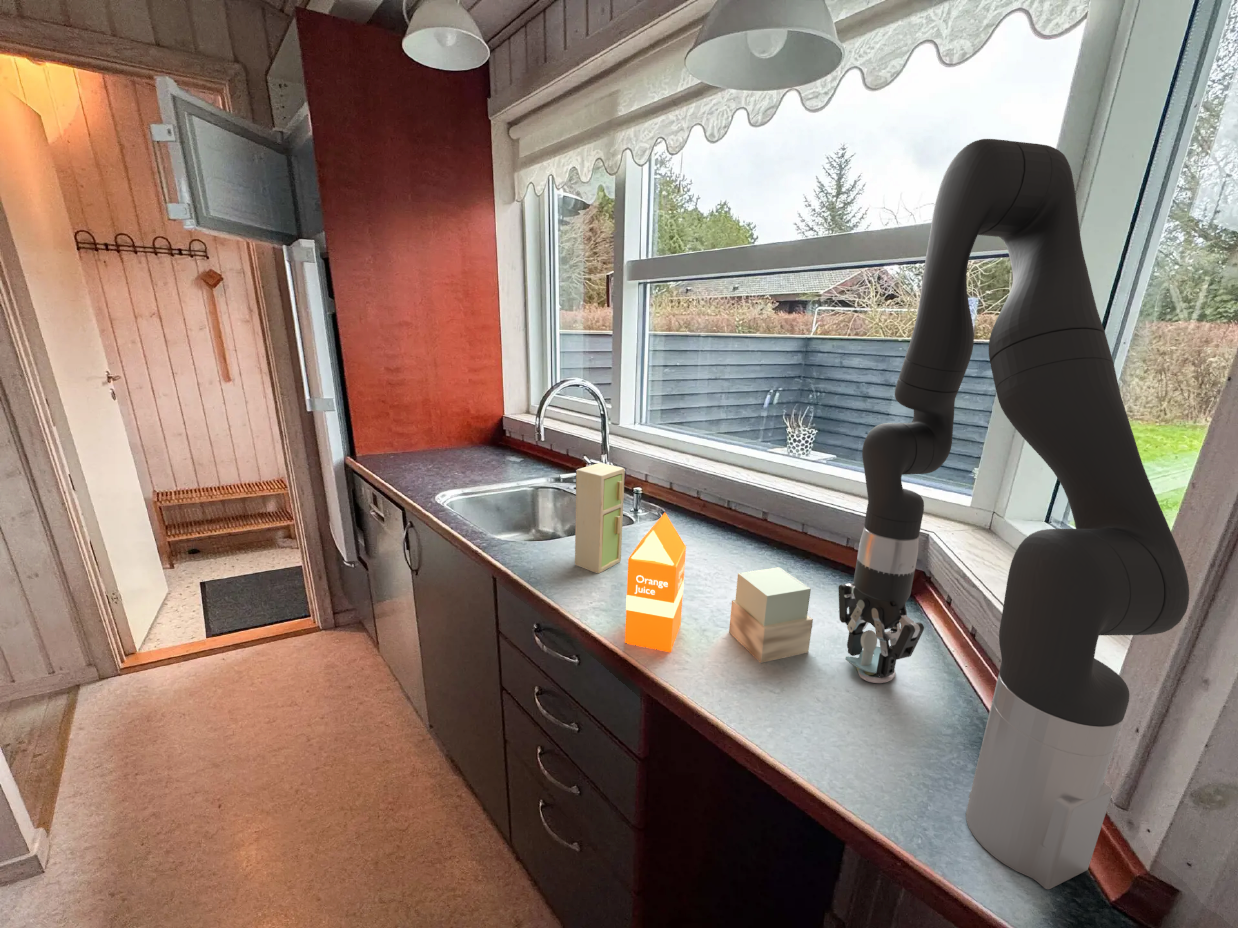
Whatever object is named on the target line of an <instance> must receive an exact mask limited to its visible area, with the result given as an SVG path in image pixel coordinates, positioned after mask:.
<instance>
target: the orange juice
mask: <svg viewBox="0 0 1238 928" xmlns="http://www.w3.org/2000/svg"><path fill="white" fill-rule="evenodd" d="M686 550H687V545H686V544H685V543H684V541H683V539H682V538H681V536H680V534H679V533H678V531H677V529H676V528H675V526H674V525H673V523H672V522H671V520H670V518H669V517H668V514H667V513H666V512H664V513H663V514H662V515H661V517H659V519H658V520H657V521H656V522H655V524H654V525H653V526H652V527H651V528H650V529H649V530H648V531H647V533H646V534H645V535H644V536H643V537H642V538H641V540H640V541H639V543H638V544H637V546H636V547H635V549H634V550H633V552H632V553H631V554H630V555H629V557H628V559H627V578H626V579H627V582H626V583H627V584H626V595H625V596H626V597H625V598H626V599H625V600H626V601H625V631H624V632H625V633H624V644H625V643H627V645H630V646H631V645H632V646H635V645H636V647H642V648H645V647H646V648H647V649H651V650H656V649H657V650H656V651H660V652H667V653H672V650H673V647H674V645H675V642H676V639H677V635H678V633H679V631H680V627H681V623H682V611H683V610H682V609H683V596H684V583H685V567H686V555H687V554H686V552H687V551H686ZM646 648H645V649H646Z"/></svg>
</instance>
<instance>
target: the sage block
mask: <svg viewBox="0 0 1238 928" xmlns="http://www.w3.org/2000/svg"><path fill="white" fill-rule="evenodd" d="M811 590H812V589H811V587H809V586H808V585H806V584H805V583H803V582H801V580H798V578H796V577H794V576H793V575H792V574H790V573H789V572H787V571H786V570H784V569H783V568H781V567H780V566H777V567H770V568H765V569H764V568H763V569H758V570H757V569H756V570H751V571H750V570H749V571H745V572H743V571H742V572H738V573H737V579H736V589H735V591H736V592H735V599H734V600H735V601H736V602H737V603H738V604H739V605H741V606H742V607H743V608H744V609H745V610H746V611H747V612H749V613H750V614H751V615H752V616H753V617H754V618H755V619H757V620H758V621H759V622H760V623H761V624H762V625H763V626H766V625H771V624H776V623H782V622H787V621H792V620H798V619H803V618H807V615H808V614H809V613H808V612H809V607H810V605H809V604H810V598H811V597H810V596H811Z"/></svg>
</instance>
